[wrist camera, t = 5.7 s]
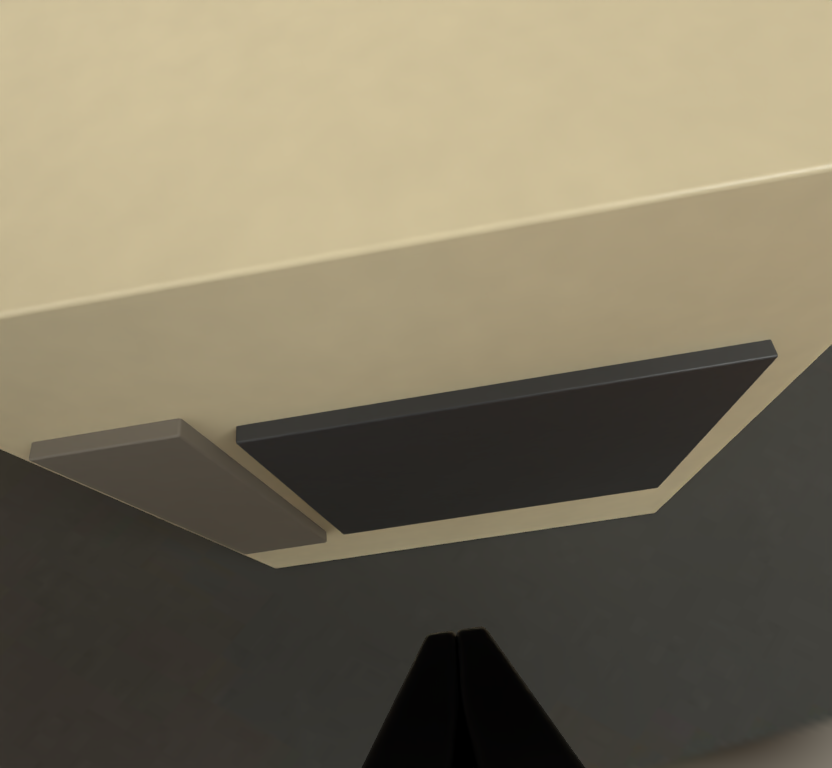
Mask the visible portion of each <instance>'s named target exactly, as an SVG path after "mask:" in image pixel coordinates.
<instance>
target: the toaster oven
mask: <svg viewBox="0 0 832 768" xmlns="http://www.w3.org/2000/svg"><path fill="white" fill-rule="evenodd" d="M831 344H832V0H0V449H1V450H3V451H6V452H8V453H10V454H13V455H15V456H17V457H20V458H22V459H24V460H26V461H29V462H31V463H33V464H36V465H38V466H40V467H43V468H45V469H47V470H50V471H52V472H54V473H56V474H59V475H61V476H63V477H66V478H68V479H70V480H73V481H75V482H77V483H80V484H82V485H84V486H86V487H89V488H91V489H93V490H96V491H98V492H100V493H103V494H105V495H107V496H110V497H112V498H114V499H116V500H119V501H121V502H123V503H126V504H128V505H130V506H133V507H135V508H137V509H140V510H142V511H144V512H146V513H149V514H151V515H153V516H156V517H158V518H160V519H163V520H165V521H167V522H170V523H172V524H174V525H176V526H179V527H181V528H183V529H186V530H188V531H190V532H193V533H195V534H197V535H200V536H202V537H204V538H206V539H209V540H211V541H213V542H216V543H218V544H220V545H223V546H225V547H227V548H230V549H232V550H234V551H236V552H239V553H241V554H243V555H246V556H248V557H250V558H253V559H255V560H257V561H260V562H262V563H264V564H266V565H269V566H271V567H273V568H282V567H289V566H296V565H303V564H310V563H316V562H323V561H330V560H337V559H344V558H350V557H357V556H364V555H371V554H378V553H385V552H391V551H398V550H405V549H412V548H419V547H425V546H432V545H439V544H446V543H453V542H460V541H466V540H473V539H480V538H487V537H494V536H500V535H507V534H514V533H521V532H528V531H535V530H541V529H548V528H555V527H562V526H569V525H575V524H582V523H589V522H596V521H603V520H609V519H616V518H623V517H630V516H637V515H644V514H650V513H655V512H656V511H657V510H658V509H659V508H660V507H661V506H663V505H664V504H665V503H666V502H667V501H668V500H669V499H670V498H671V497H672V496H673V495H674V494H675V493H676V492H677V491H678V490H679V489H680V488H681V487H682V486H683V485H685V484H686V483H687V482H688V481H689V480H690V479H691V478H692V477H693V476H694V475H695V474H696V473H697V472H698V471H699V470H700V469H701V468H702V467H703V466H704V465H705V464H707V463H708V462H709V461H710V460H711V459H712V458H713V457H714V456H715V455H716V454H717V453H718V452H719V451H720V450H721V449H722V448H723V447H724V446H725V445H726V444H727V443H729V442H730V441H731V440H732V439H733V438H734V437H735V436H736V435H737V434H738V433H739V432H740V431H741V430H742V429H743V428H744V427H745V426H746V425H747V424H748V423H749V422H751V421H752V420H753V419H754V418H755V417H756V416H757V415H758V414H759V413H760V412H761V411H762V410H763V409H764V408H765V407H766V406H767V405H768V404H769V403H770V402H771V401H772V400H774V399H775V398H776V397H777V396H778V395H779V394H780V393H781V392H782V391H783V390H784V389H785V388H786V387H787V386H788V385H789V384H790V383H791V382H792V381H793V380H794V379H796V378H797V377H798V376H799V375H800V374H801V373H802V372H803V371H804V370H805V369H806V368H807V367H808V366H809V365H810V364H811V363H812V362H813V361H814V360H815V359H816V358H818V357H819V356H820V355H821V354H822V353H823V352H824V351H825V350H826V349H827V348H828V347H829V346H830V345H831Z"/></svg>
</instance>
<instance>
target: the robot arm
mask: <svg viewBox="0 0 832 768" xmlns="http://www.w3.org/2000/svg"><path fill="white" fill-rule="evenodd" d="M362 768H585V767H584V766H583V764H582V763H581V761H580V760H579V759H578V757H577V756H576V754H575V753H574V752H573V750H572V749H571V747H570V746H569V745H568V743H567V742H566V740H565V739H564V737H563V736H562V735H561V733H560V732H559V730H558V729H557V728H556V726H555V725H554V723H553V722H552V721H551V719H550V718H549V716H548V715H547V714H546V712H545V711H544V709H543V708H542V706H541V705H540V704H539V702H538V701H537V699H536V698H535V697H534V695H533V694H532V692H531V691H530V690H529V688H528V687H527V685H526V684H525V683H524V681H523V680H522V678H521V677H520V676H519V674H518V673H517V671H516V670H515V668H514V667H513V666H512V664H511V663H510V661H509V660H508V659H507V657H506V656H505V654H504V653H503V652H502V650H501V649H500V647H499V646H498V645H497V643H496V642H495V640H494V639H493V637H492V636H491V635H490V633H489V632H488V631H487V630H486V629H485V628H484V627H475V628H468V629H461V630H459V631H458V632H457V636H456V634H455V632H453V631H446V632H439V633H432V634H429V635H428V636H427V637H426V638H425V640H424V642H423V644H422V646H421V648H420V650H419V652H418V654H417V656H416V658H415V660H414V662H413V664H412V666H411V668H410V670H409V672H408V674H407V676H406V678H405V681H404V683H403V685H402V687H401V689H400V691H399V693H398V695H397V697H396V699H395V701H394V703H393V705H392V707H391V709H390V711H389V713H388V715H387V717H386V719H385V721H384V723H383V725H382V727H381V729H380V731H379V734H378V736H377V738H376V740H375V742H374V744H373V746H372V748H371V750H370V752H369V754H368V756H367V758H366V760H365V762H364V764H363V766H362Z"/></svg>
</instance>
